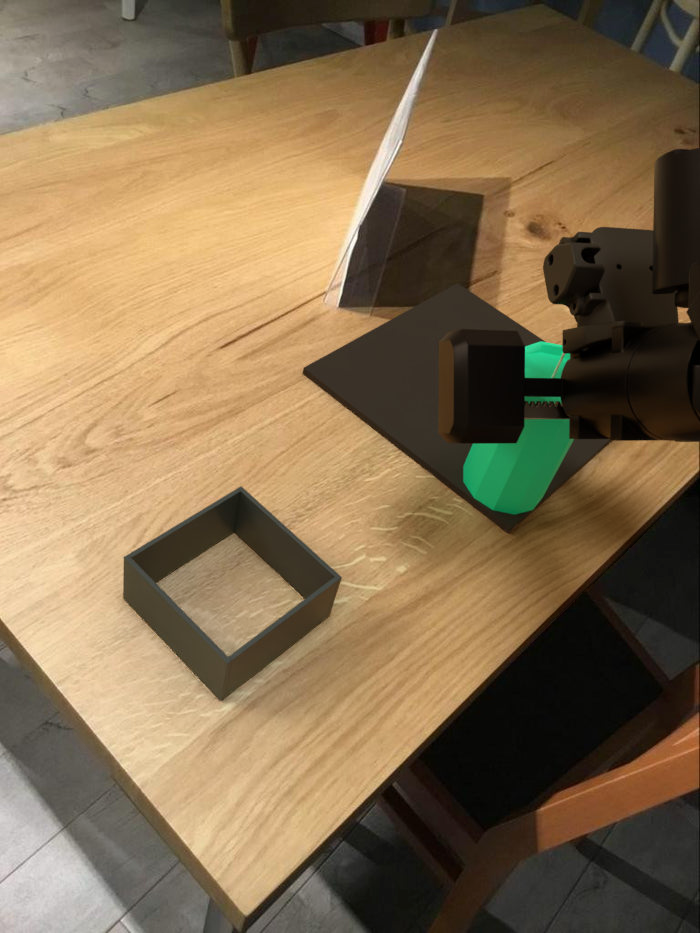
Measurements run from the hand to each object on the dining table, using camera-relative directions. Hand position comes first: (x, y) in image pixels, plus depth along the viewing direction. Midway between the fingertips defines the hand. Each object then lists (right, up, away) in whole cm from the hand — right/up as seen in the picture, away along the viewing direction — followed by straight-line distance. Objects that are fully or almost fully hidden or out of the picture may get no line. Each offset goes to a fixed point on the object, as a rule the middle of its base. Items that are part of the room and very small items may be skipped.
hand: (528, 393), depth 58 cm
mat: (-2, +1, +11) cm, 11 cm away
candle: (-1, -6, +4) cm, 7 cm away
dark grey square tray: (-19, -13, -7) cm, 24 cm away
